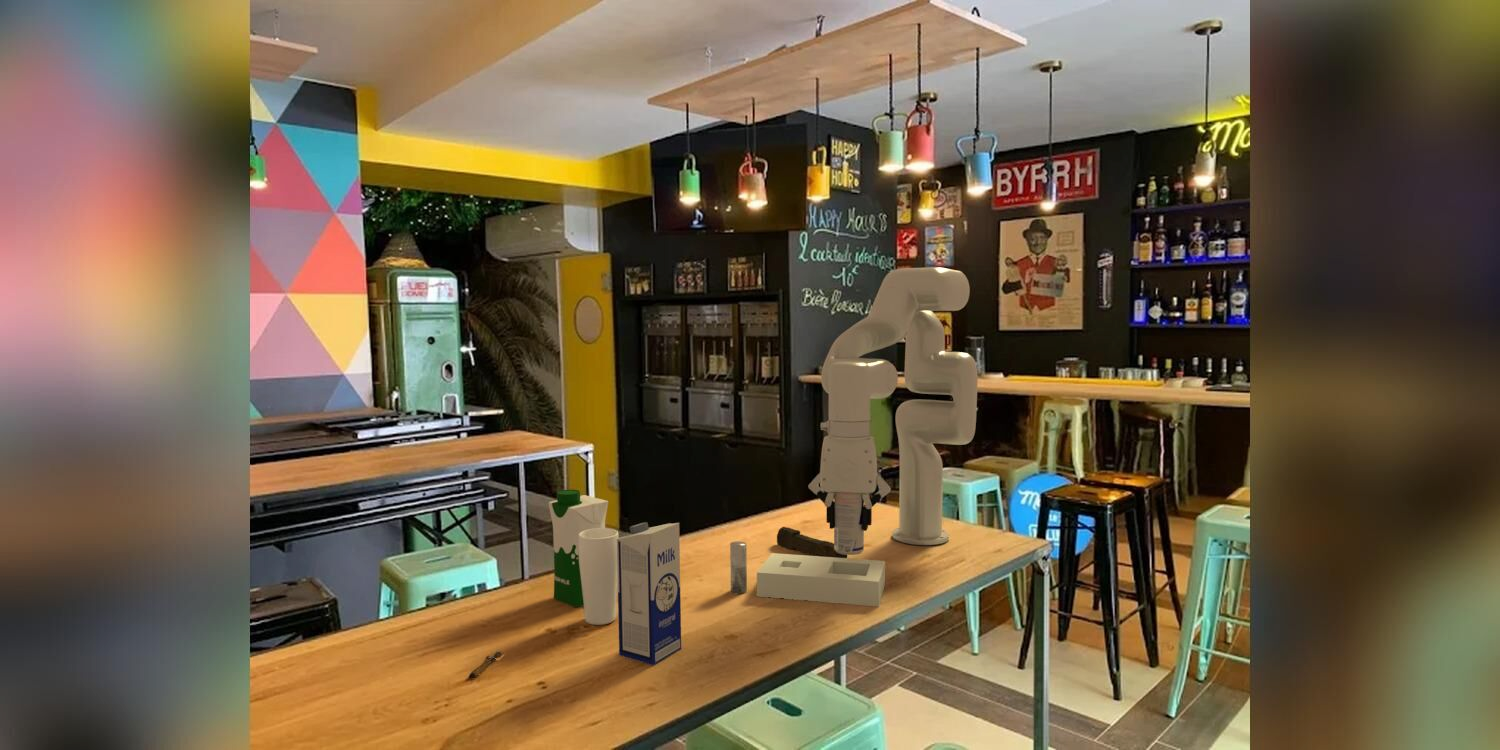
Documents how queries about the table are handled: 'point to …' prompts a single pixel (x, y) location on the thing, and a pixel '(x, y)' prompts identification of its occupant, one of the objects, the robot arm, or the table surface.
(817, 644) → the table surface
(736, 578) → the grey metal peg
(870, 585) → the socket block
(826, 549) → the hand tool
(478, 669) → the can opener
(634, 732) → the table surface
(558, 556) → the soya milk
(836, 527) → the energy drink
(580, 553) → the drinking glass
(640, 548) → the milk carton
